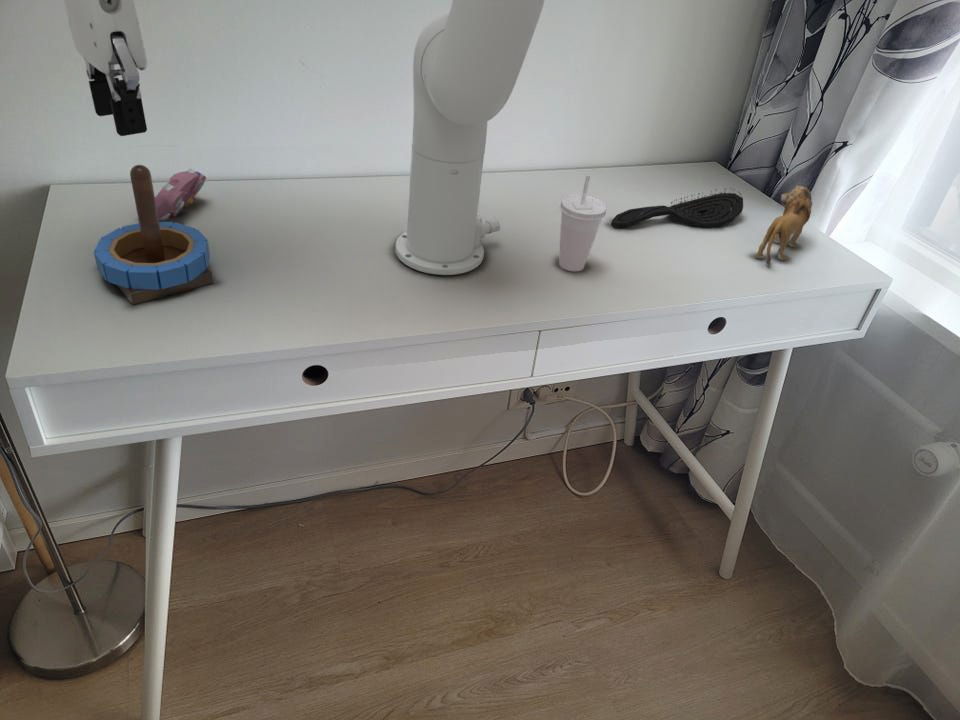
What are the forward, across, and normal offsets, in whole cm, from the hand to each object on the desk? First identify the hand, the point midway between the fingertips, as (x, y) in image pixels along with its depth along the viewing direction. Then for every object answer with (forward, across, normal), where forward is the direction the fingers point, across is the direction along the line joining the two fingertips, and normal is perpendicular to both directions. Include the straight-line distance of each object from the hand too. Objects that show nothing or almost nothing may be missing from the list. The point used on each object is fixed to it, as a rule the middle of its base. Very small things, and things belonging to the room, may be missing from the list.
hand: (121, 122), depth 87 cm
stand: (+18, -5, +1) cm, 19 cm away
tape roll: (+16, -4, +1) cm, 17 cm away
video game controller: (+18, +11, -8) cm, 23 cm away
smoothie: (+19, -30, -49) cm, 61 cm away
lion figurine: (+20, -43, -83) cm, 96 cm away
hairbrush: (+20, -28, -76) cm, 84 cm away
